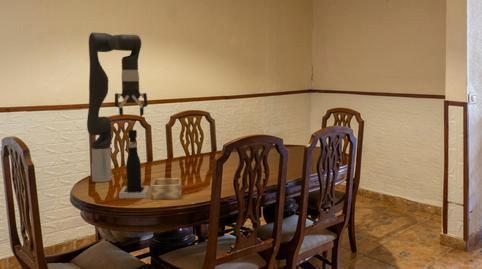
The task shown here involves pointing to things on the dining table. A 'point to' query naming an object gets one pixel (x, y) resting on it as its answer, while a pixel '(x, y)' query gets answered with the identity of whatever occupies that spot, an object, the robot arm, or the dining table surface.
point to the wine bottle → (133, 165)
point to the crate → (166, 189)
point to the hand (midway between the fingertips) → (131, 116)
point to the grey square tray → (134, 193)
